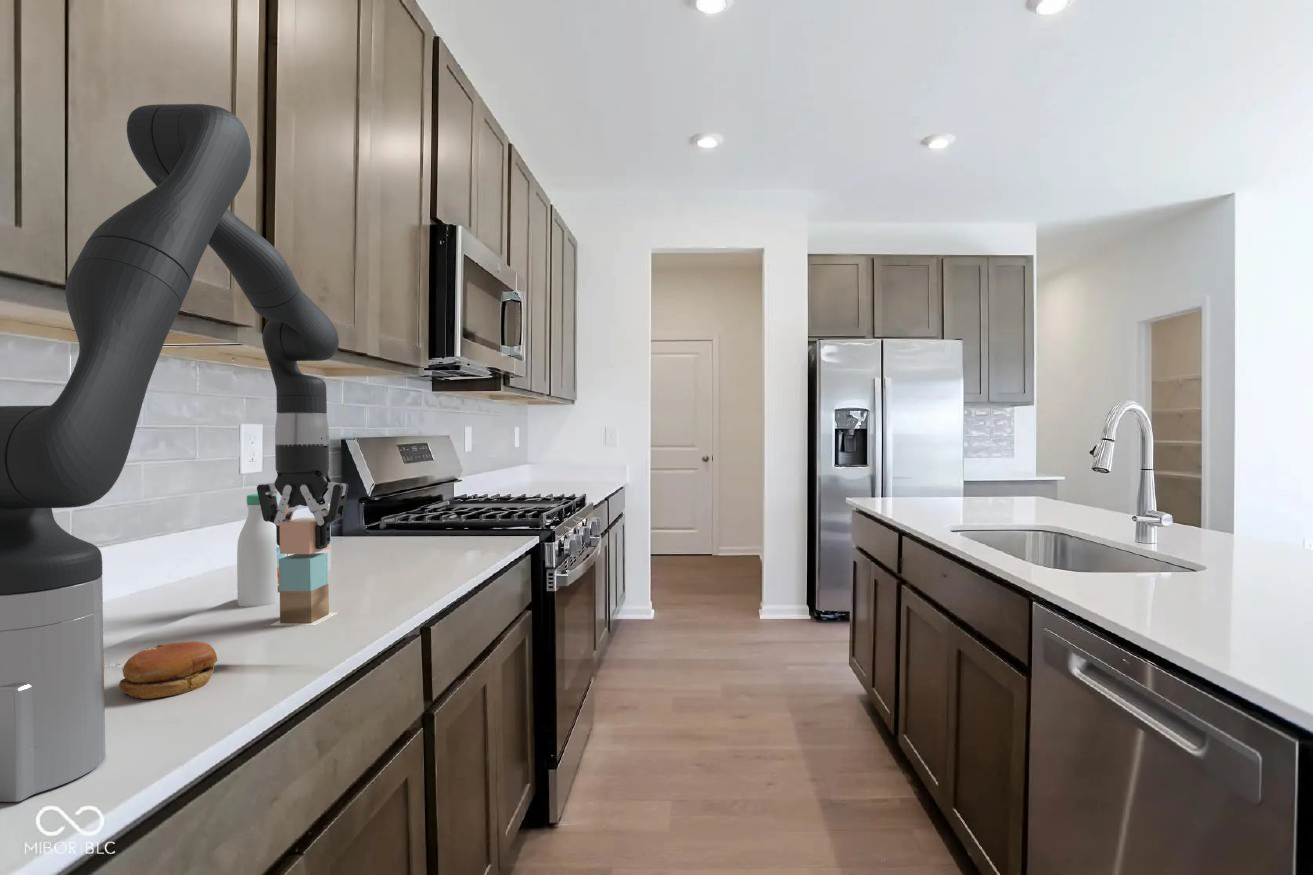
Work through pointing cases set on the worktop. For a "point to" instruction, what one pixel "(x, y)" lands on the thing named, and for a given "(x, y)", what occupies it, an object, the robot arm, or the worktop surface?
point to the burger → (168, 670)
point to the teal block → (303, 572)
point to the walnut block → (304, 605)
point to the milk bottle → (257, 559)
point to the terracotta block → (298, 536)
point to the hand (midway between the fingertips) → (303, 547)
